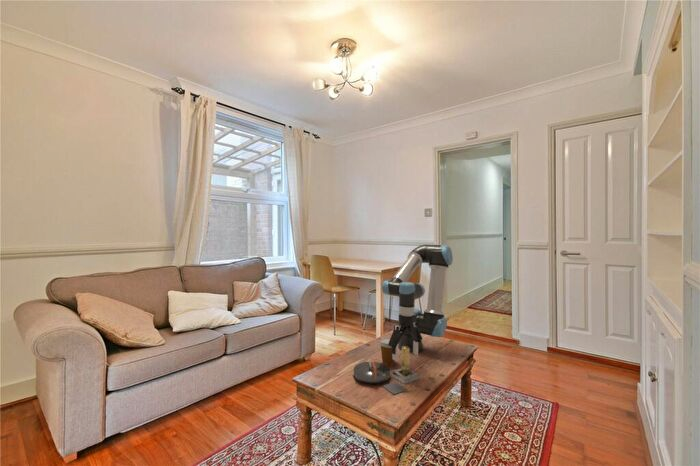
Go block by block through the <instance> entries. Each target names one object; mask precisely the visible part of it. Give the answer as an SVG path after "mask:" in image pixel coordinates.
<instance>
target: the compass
mask: <svg viewBox="0 0 700 466" xmlns="http://www.w3.org/2000/svg"><path fill="white" fill-rule="evenodd" d="M353 377H354V378H356V380H358V381H361V382H362V383H366V384H381V383H384V382H387V381H388V380H389V379H390V377H391V369H390V367H389V366H388V365H385V364H383V362H379V361H363V362H359V363H357V364H356V365H355V366H354V367H353Z"/></svg>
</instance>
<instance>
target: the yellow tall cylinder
mask: <svg viewBox="0 0 700 466" xmlns="http://www.w3.org/2000/svg"><path fill="white" fill-rule="evenodd" d="M410 353H411V352H410V347H408V346H402V350H401V368H402V375H403V376H408V375H409V369H410Z"/></svg>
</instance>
